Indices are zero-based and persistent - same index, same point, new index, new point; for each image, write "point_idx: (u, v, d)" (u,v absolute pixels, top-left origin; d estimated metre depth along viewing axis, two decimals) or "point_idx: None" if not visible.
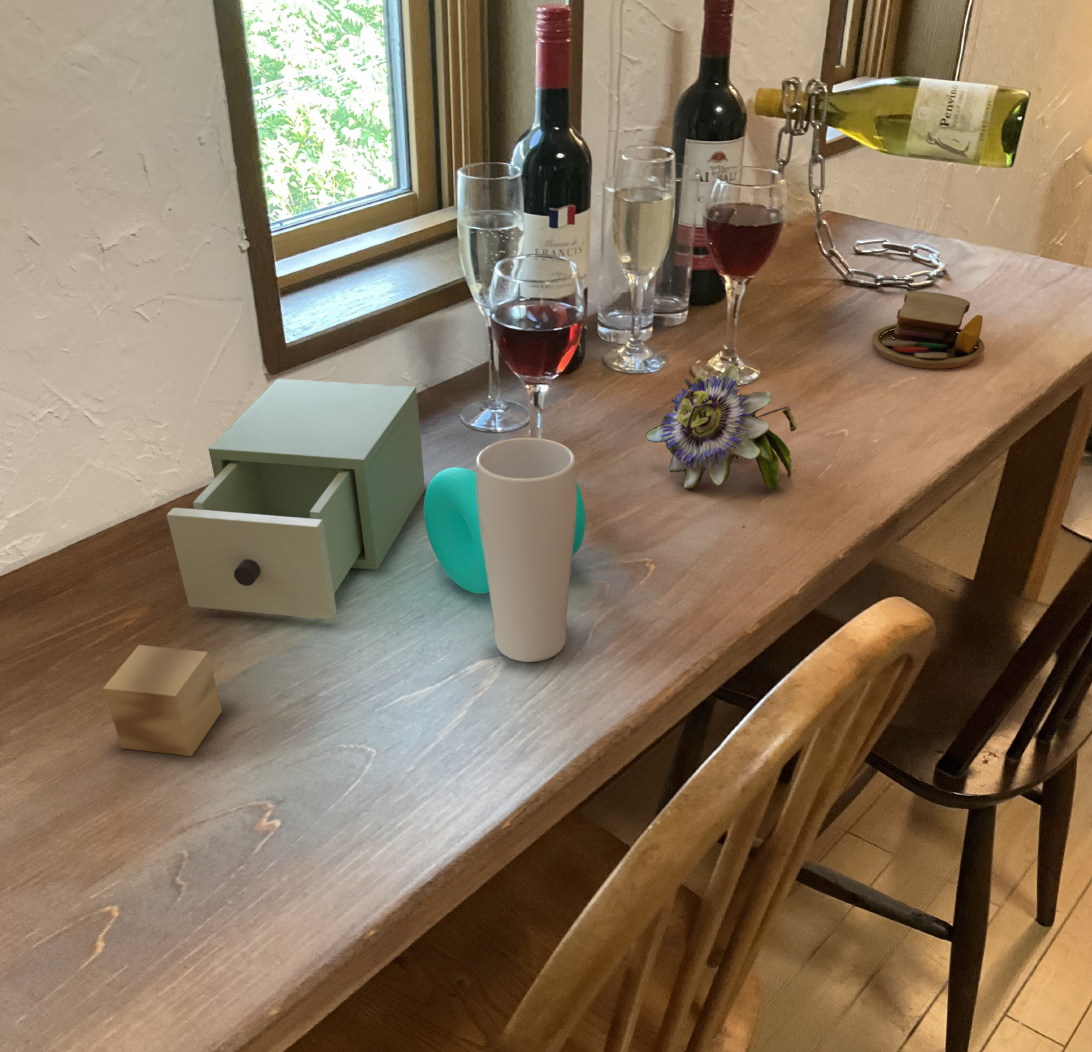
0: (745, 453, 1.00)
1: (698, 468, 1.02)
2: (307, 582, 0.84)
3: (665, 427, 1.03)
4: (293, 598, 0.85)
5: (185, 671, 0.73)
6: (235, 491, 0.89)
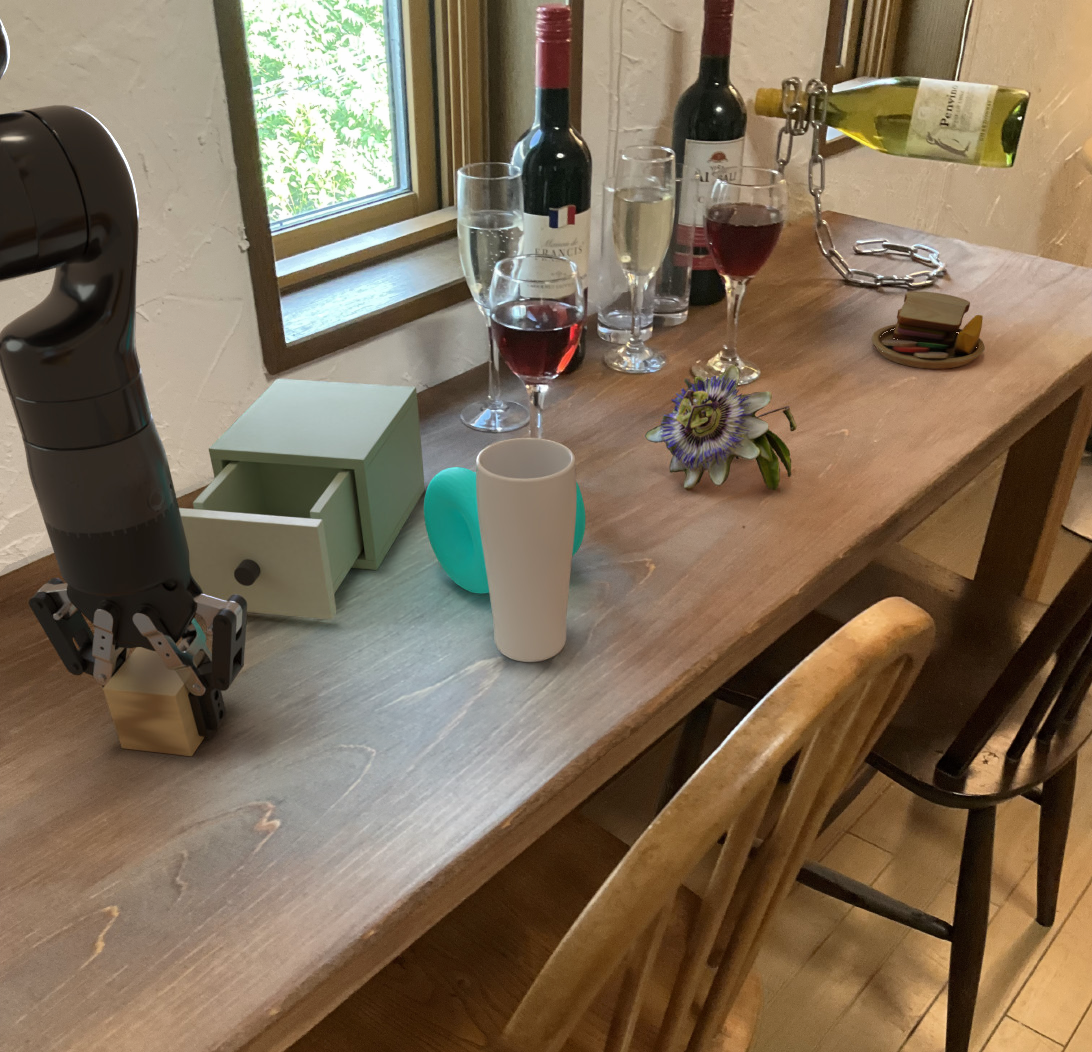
0: (745, 453, 1.00)
1: (698, 468, 1.02)
2: (307, 582, 0.84)
3: (665, 427, 1.03)
4: (293, 598, 0.85)
5: None
6: (235, 491, 0.89)
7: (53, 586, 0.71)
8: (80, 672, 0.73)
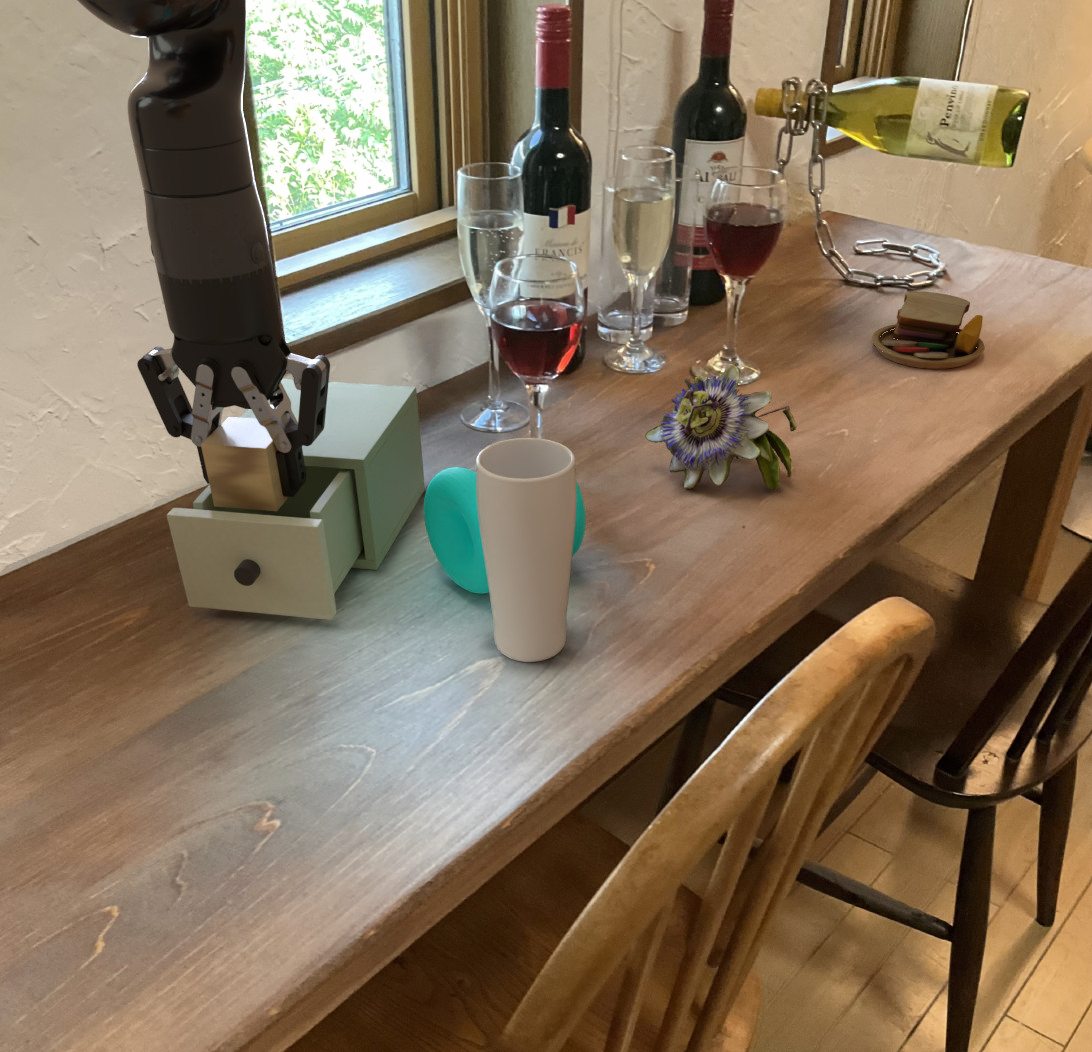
0: (745, 454, 1.00)
1: (698, 468, 1.02)
2: (307, 582, 0.84)
3: (665, 427, 1.03)
4: (293, 598, 0.85)
5: None
6: None
7: (158, 351, 0.81)
8: (179, 434, 0.83)
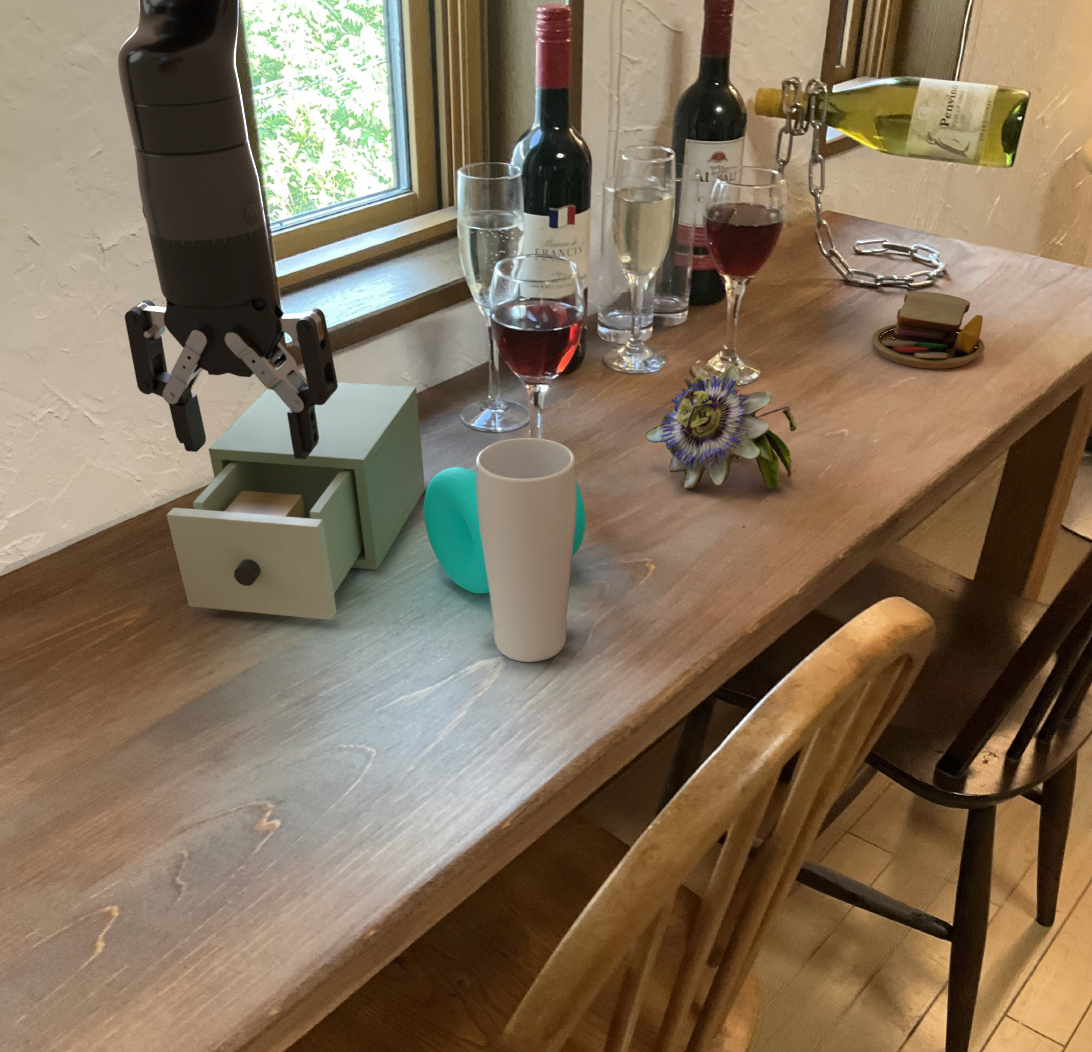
0: (745, 454, 1.00)
1: (698, 468, 1.02)
2: (307, 582, 0.84)
3: (665, 427, 1.03)
4: (293, 598, 0.85)
5: (285, 508, 0.86)
6: (235, 491, 0.89)
7: (148, 306, 0.79)
8: (149, 392, 0.81)
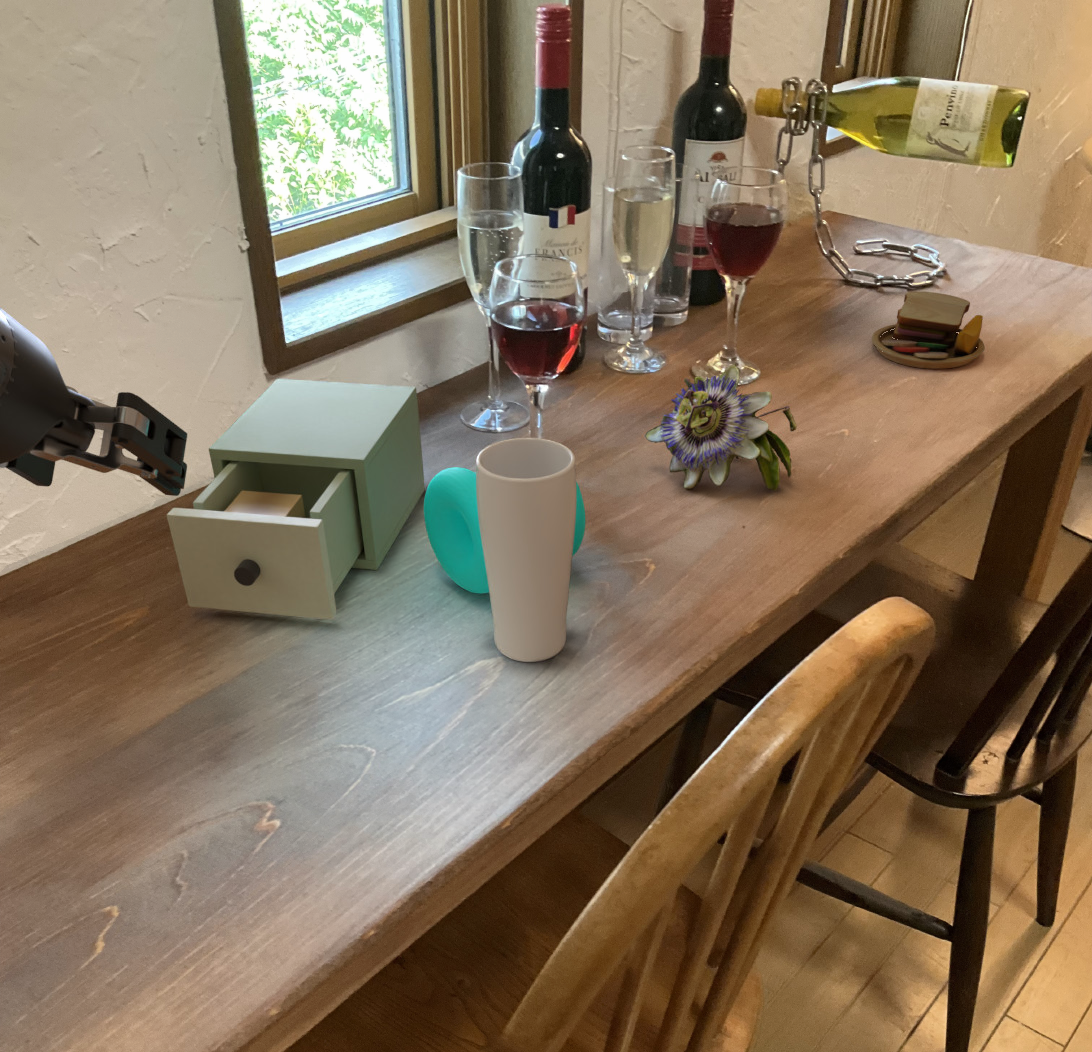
0: (745, 454, 1.00)
1: (698, 468, 1.02)
2: (307, 582, 0.84)
3: (665, 427, 1.03)
4: (293, 598, 0.85)
5: (285, 508, 0.86)
6: (235, 491, 0.89)
7: None
8: None
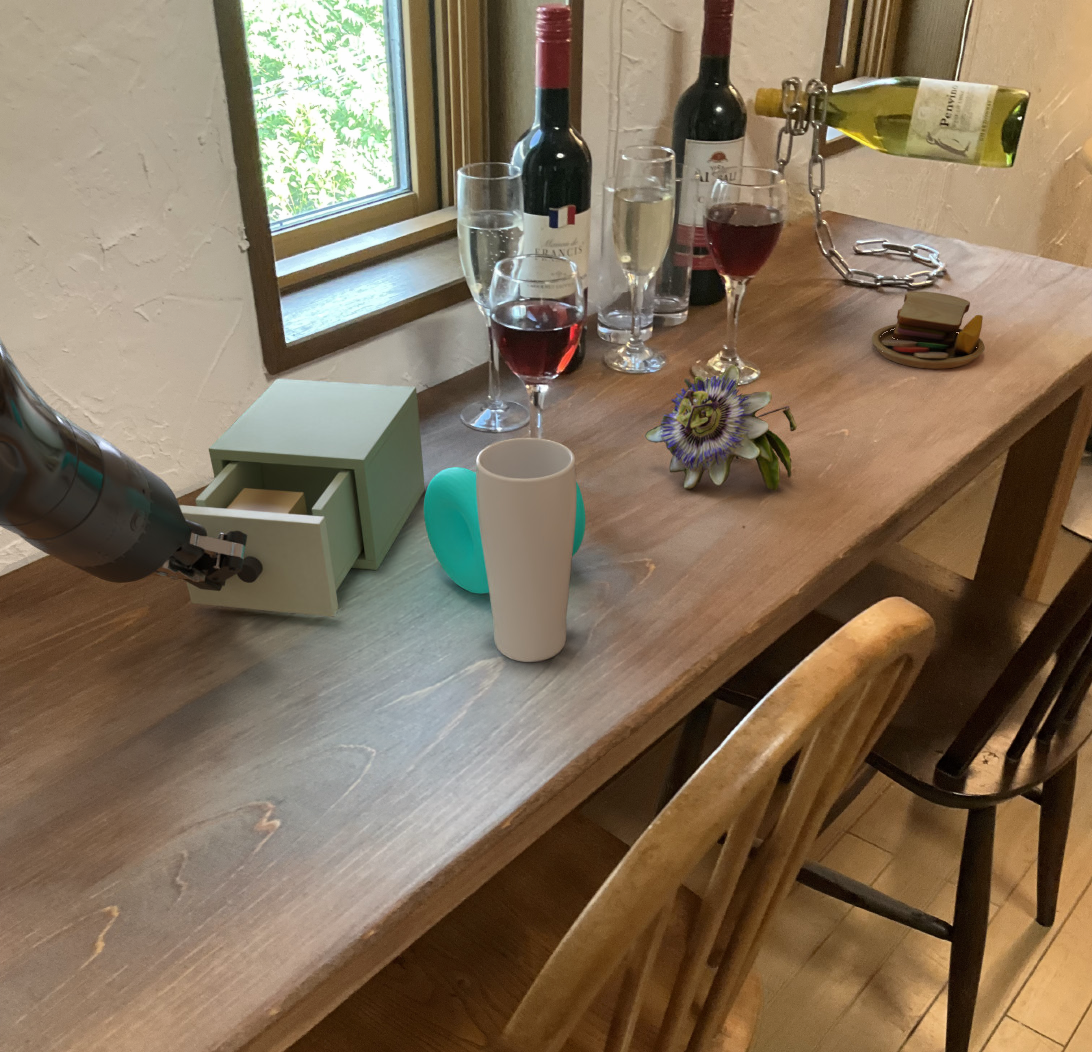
0: (745, 453, 1.00)
1: (698, 468, 1.02)
2: (309, 579, 0.84)
3: (665, 427, 1.03)
4: (295, 595, 0.85)
5: (287, 505, 0.87)
6: (237, 489, 0.90)
7: None
8: None
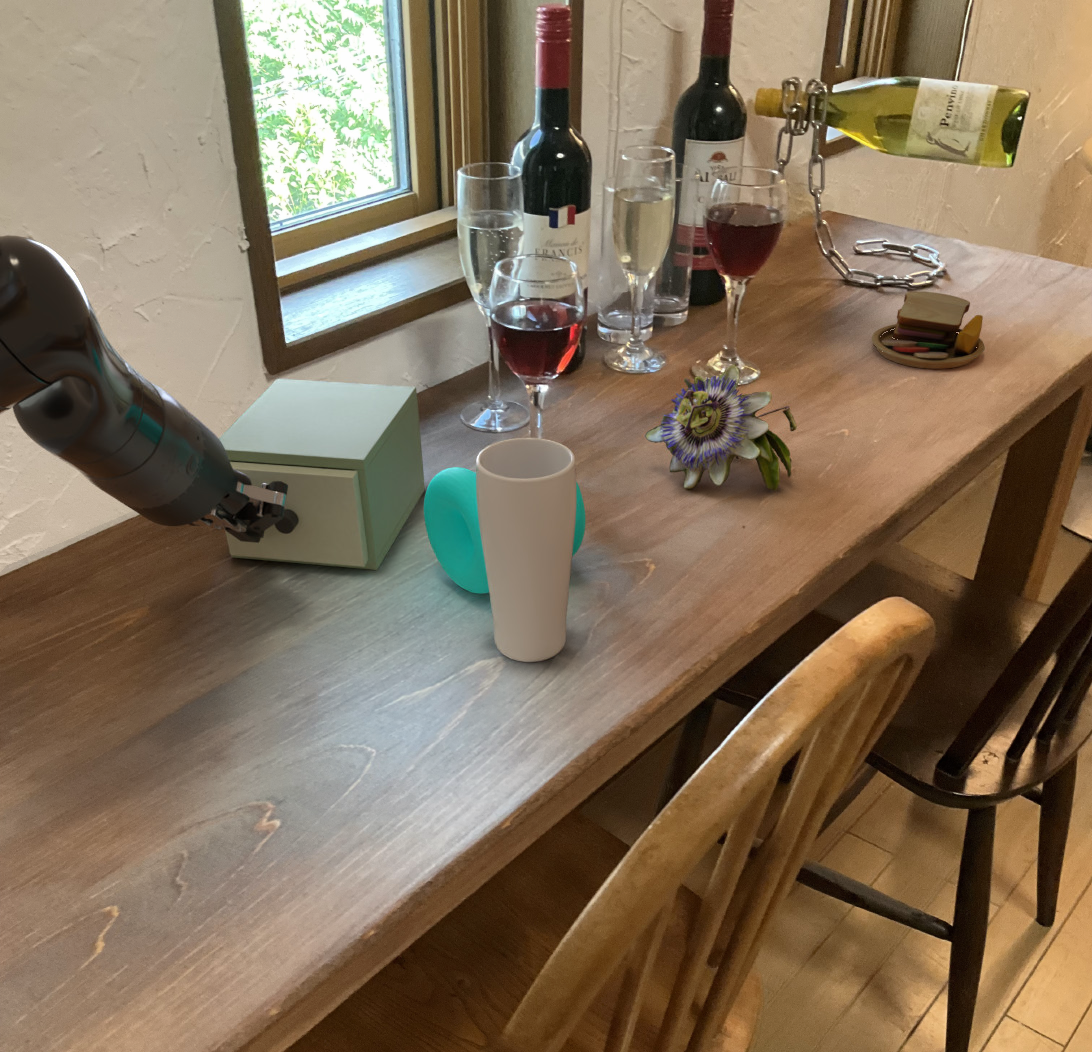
0: (745, 454, 1.00)
1: (698, 468, 1.02)
2: (342, 530, 0.90)
3: (665, 427, 1.03)
4: (328, 546, 0.91)
5: None
6: None
7: None
8: None
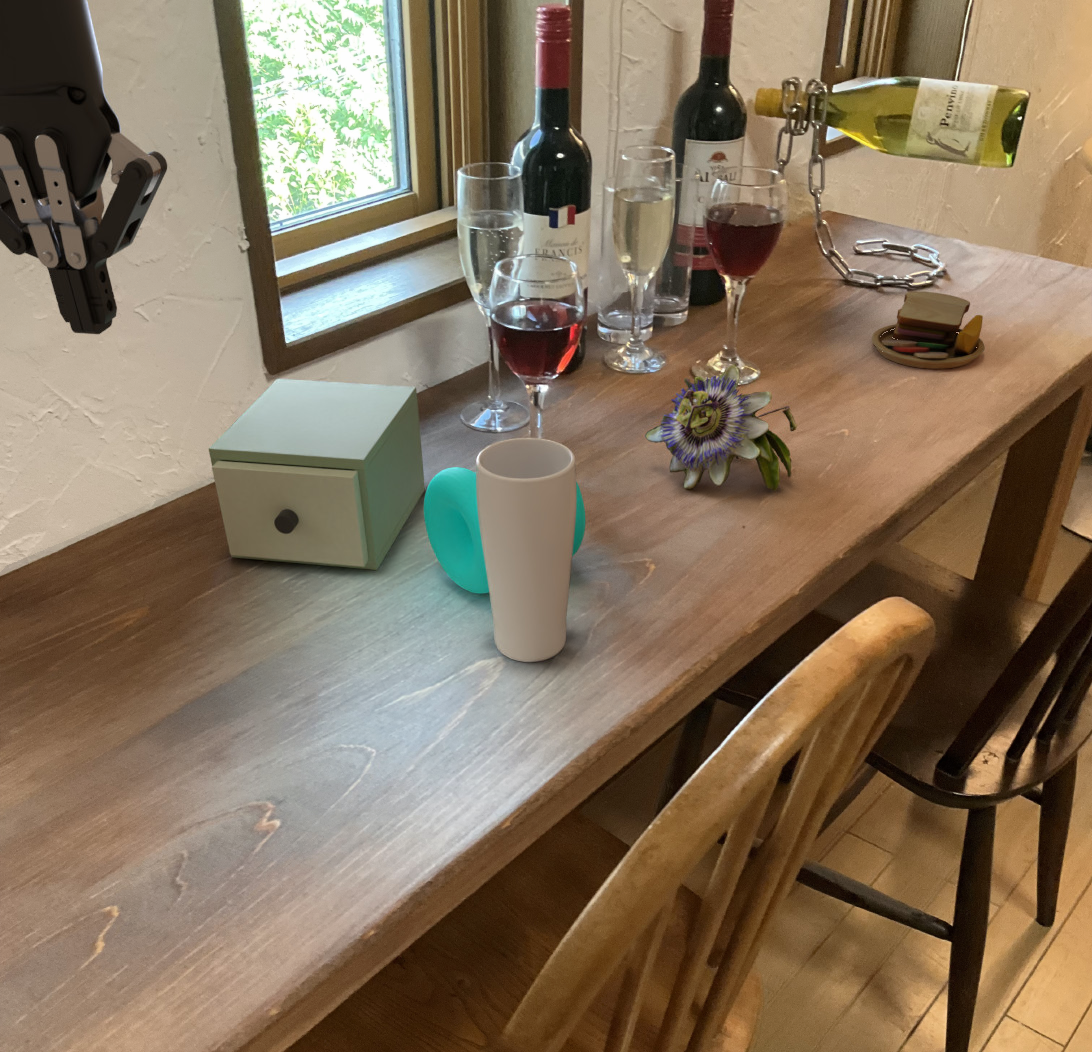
0: (745, 454, 1.00)
1: (698, 468, 1.02)
2: (342, 530, 0.90)
3: (665, 427, 1.03)
4: (328, 546, 0.91)
5: None
6: None
7: None
8: (23, 246, 0.62)
